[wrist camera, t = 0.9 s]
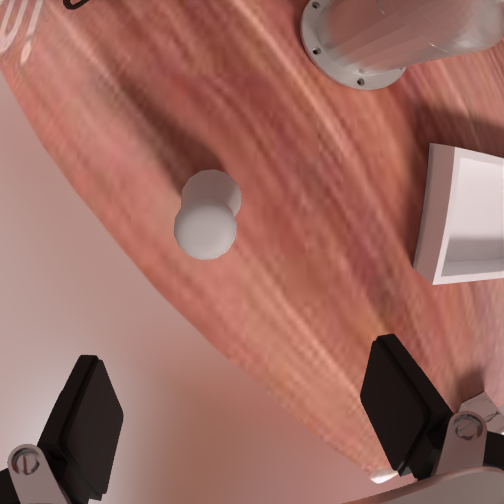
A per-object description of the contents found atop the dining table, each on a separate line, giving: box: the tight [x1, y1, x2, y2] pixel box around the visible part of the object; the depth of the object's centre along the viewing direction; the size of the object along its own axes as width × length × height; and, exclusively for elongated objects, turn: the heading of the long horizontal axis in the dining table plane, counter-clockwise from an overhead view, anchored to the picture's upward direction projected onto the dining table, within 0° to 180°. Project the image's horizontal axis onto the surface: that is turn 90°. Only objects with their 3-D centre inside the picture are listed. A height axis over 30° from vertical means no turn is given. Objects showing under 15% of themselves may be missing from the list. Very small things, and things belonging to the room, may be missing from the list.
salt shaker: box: [174, 169, 242, 260], centre depth 27 cm, size 6×6×13 cm
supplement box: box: [458, 392, 504, 435], centre depth 48 cm, size 7×7×13 cm
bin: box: [413, 143, 504, 285], centre depth 34 cm, size 16×20×5 cm
